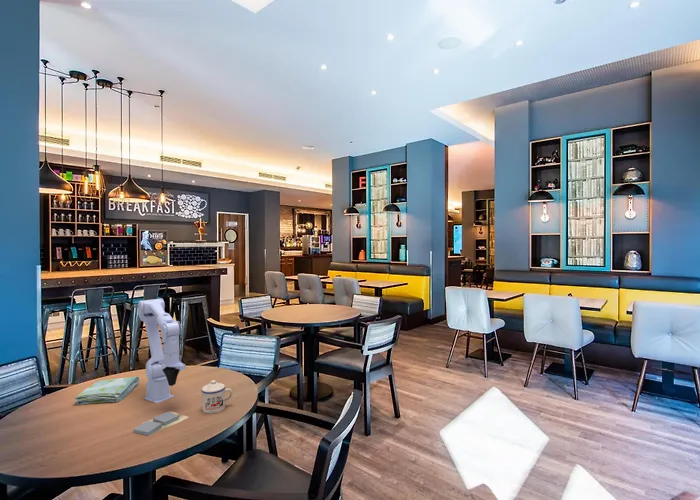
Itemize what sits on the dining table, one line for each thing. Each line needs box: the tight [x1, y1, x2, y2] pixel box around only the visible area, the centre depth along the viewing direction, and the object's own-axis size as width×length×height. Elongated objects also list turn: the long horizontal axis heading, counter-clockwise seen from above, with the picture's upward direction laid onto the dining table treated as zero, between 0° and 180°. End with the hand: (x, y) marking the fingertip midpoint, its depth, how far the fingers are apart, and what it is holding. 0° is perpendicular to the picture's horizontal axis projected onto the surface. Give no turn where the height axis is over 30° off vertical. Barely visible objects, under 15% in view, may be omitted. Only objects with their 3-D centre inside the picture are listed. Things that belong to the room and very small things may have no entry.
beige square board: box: [140, 410, 190, 432], centre depth 141 cm, size 12×12×1 cm
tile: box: [152, 411, 179, 426], centre depth 141 cm, size 1×6×7 cm
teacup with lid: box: [200, 379, 234, 414], centre depth 151 cm, size 12×9×12 cm
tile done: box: [132, 420, 162, 437], centre depth 134 cm, size 7×6×1 cm
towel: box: [74, 376, 140, 405], centre depth 167 cm, size 18×21×5 cm
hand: (172, 384), depth 151 cm, fingers closed
